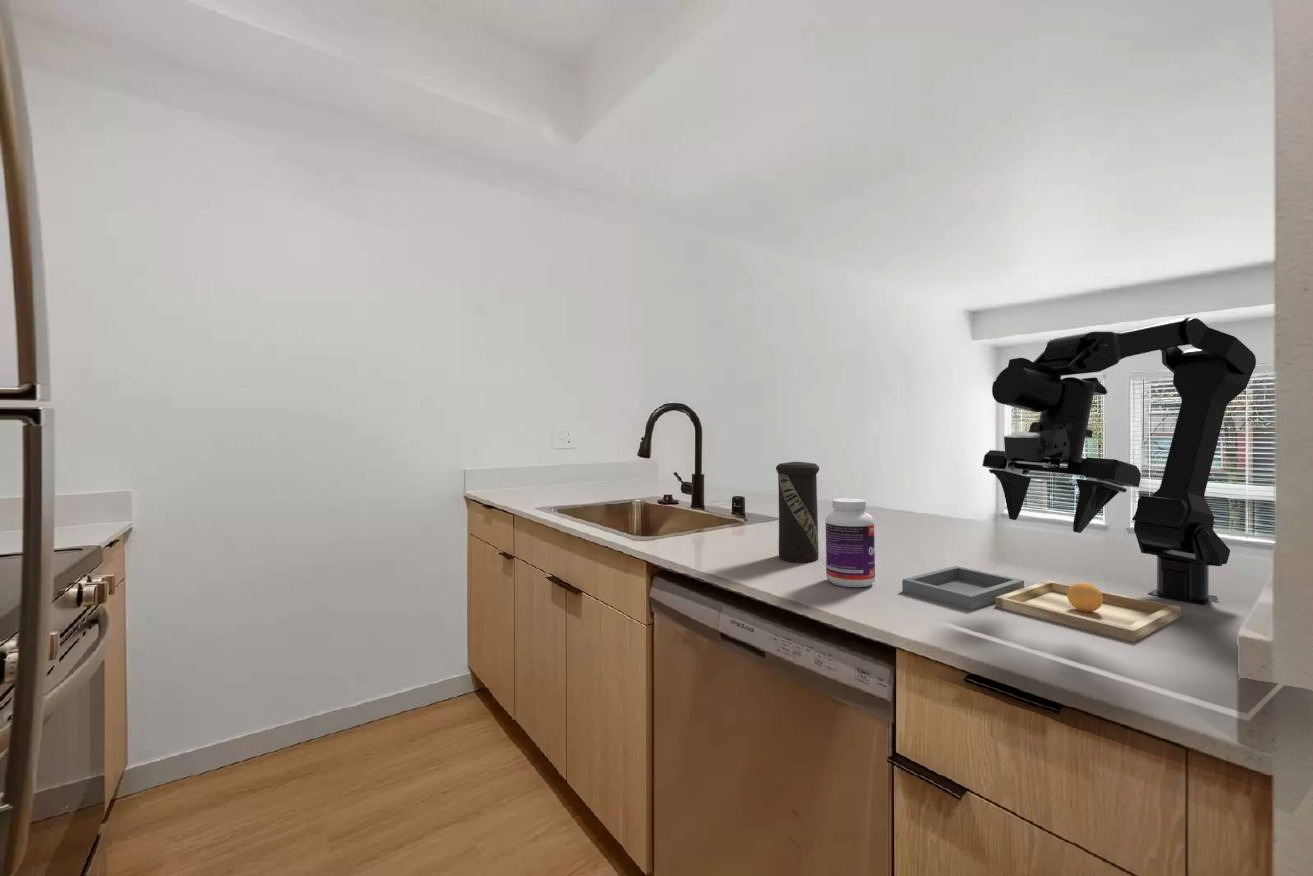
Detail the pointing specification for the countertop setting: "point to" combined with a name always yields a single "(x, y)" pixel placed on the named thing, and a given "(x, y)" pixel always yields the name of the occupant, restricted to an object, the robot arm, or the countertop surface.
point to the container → (798, 511)
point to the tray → (961, 586)
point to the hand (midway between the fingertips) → (1042, 525)
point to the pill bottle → (850, 544)
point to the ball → (1085, 597)
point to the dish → (1110, 619)
